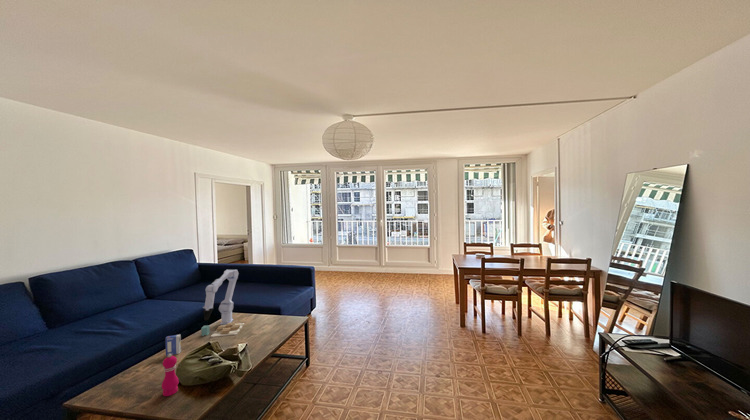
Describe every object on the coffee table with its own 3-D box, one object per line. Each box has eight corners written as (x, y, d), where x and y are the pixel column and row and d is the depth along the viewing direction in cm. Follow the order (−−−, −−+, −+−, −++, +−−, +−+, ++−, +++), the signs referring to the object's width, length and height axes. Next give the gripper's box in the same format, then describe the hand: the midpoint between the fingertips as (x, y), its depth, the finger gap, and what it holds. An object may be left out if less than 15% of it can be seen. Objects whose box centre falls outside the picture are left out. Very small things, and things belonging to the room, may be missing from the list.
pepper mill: (176, 386, 149) (175, 349, 149) (180, 391, 144) (180, 353, 144) (159, 393, 143) (159, 354, 143) (163, 399, 138) (163, 359, 138)
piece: (203, 333, 213) (203, 325, 213) (209, 333, 214) (209, 325, 214) (201, 335, 209) (201, 328, 209) (207, 335, 210) (207, 327, 210)
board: (220, 326, 226) (220, 322, 226) (244, 324, 230) (244, 320, 230) (210, 337, 207) (210, 333, 207) (236, 334, 210) (236, 330, 210)
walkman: (165, 355, 181) (165, 337, 181) (167, 353, 183) (166, 335, 183) (179, 353, 183) (179, 335, 183) (181, 351, 186) (180, 333, 186)
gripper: (205, 300, 220) (202, 318, 216) (202, 301, 207) (199, 321, 203) (215, 300, 222) (212, 318, 219) (213, 301, 209) (210, 320, 206)
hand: (206, 319), depth 211 cm, fingers open, 7 cm apart
